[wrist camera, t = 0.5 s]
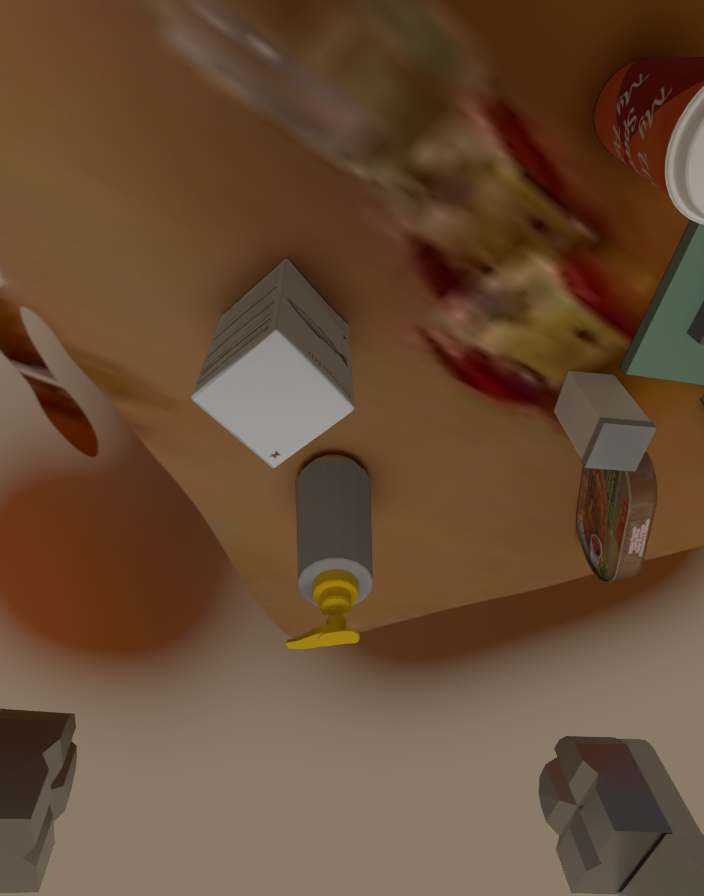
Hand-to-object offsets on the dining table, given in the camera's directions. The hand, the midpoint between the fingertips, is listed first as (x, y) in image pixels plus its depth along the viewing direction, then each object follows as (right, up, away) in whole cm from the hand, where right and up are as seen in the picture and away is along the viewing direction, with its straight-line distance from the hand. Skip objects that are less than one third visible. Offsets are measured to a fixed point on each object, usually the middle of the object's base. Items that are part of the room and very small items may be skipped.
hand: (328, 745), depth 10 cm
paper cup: (+19, +27, +30) cm, 44 cm away
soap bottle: (-1, +2, +46) cm, 47 cm away
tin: (+24, +2, +48) cm, 54 cm away
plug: (+20, +10, +42) cm, 48 cm away
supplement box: (-5, +15, +37) cm, 40 cm away
